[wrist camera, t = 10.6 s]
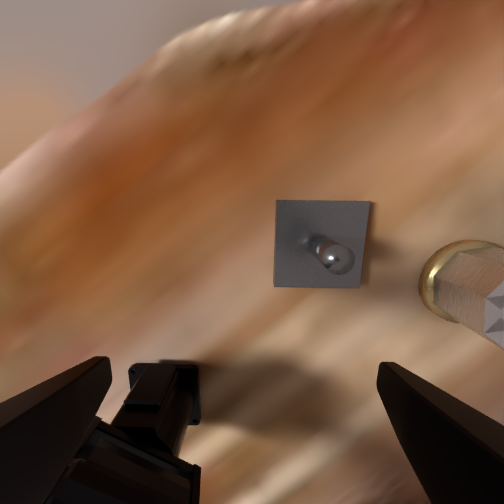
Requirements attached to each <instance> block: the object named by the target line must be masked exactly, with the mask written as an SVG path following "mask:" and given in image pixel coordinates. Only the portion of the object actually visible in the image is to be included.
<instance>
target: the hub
mask: <svg viewBox="0 0 504 504" xmlns="http://www.w3.org/2000/svg"><path fill="white" fill-rule="evenodd" d="M488 246H490V247H495V248H500V249H502V248H501V247H499V246H497V245H494V244H491V243H486V242H481V241H476V240H462V241H457V242H454V243H451V244H449V245H447V246H445V247H443V248H441V249H440V250H439V251H437V252H436V253H435V254H434V255H433V256H432V257H431V258H430V259H429V260H428V262H427V263H426V264H425V266H424V268H423V270H422V272H421V275H420V279H419V292H420V296H421V299H422V301H423V303H424V304H425V305H426V307H427V308H428V309H429V310H431V311H432V312H434V313H435V314H437V315H438V316H440V317H441V318H443V319H445V320H447V321H450V322H454V323H459V322H457V321H456V320H454V319H453V318H452V317H450V316H449V315H448V314H446V313H445V312H444V311H442V310H441V309H440V308H438V307H437V306H436V305H434V304H433V275H434V274H435V273H436V272H437V271H438V270H439V269H440V268H441V267H442V266H443V265H444V264H445V263H446V262H447V261H448V260H449V259H450V258H451V256H452V255H453V254H454V253H455V252H456V251H461V250H468V249H475V248H481V247H488Z"/></svg>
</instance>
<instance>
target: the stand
mask: <svg viewBox="0 0 504 504" xmlns="http://www.w3.org/2000/svg"><path fill="white" fill-rule="evenodd" d="M369 205H370V201H303V200H276V218H275V247H274V276H273V284H274V287H301V288H359V287H360V279H361V271H362V263H363V254H364V246H365V238H366V230H367V221H368V213H369Z"/></svg>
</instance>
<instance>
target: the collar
mask: <svg viewBox="0 0 504 504" xmlns="http://www.w3.org/2000/svg"><path fill="white" fill-rule="evenodd" d="M433 304H434V305H436V306H437V307H438V308H440V309H441V310H442V311H444V312H445V313H446V314H448V315H449V316H450V317H452V318H453V319H454V320H456V321H457V322H459V323H461V324H462V325H464V326H466V327H467V328H469V329H471V330H472V331H474V332H475V333H477V334H479V335H480V336H482V337H484V338H485V339H487V340H489V341H490V342H492V343H494V344H495V345H497V346H499V347H500V348H502V349H504V249H500V248H495V247H490V246H488V247H481V248H475V249H468V250H461V251H456V252H455V253H454V254H453V255H452V256H451V258H450V259H449V260H448V261H447V262H446V263H445V264H444V265H443V266H442V267H441V268H440V269H439V270H438V271H437V272H436V273H435V274H434V275H433Z"/></svg>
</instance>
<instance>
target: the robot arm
mask: <svg viewBox="0 0 504 504" xmlns="http://www.w3.org/2000/svg"><path fill="white" fill-rule="evenodd" d="M133 369H134V370H136V371H134V370H133ZM192 371H195V372H192ZM128 374H129V382H130V390H131V391H130V392H129V394H128V395H127V397H126V399H125V400H124V403H123V405H122V407H121V408H120V410H119V411H118V413H117V414H116V416H115V417H114V419H113V421H112V422H111V424H108V423H106V422H104V421H102V418H100V417H98V416H95V415H96V413H97V411H98V409H99V407H100V405H101V403H102V401H103V399H104V397H105V396H106V394H107V392H108V390H109V388H110V386H111V383H112V371H111V364H110V359H109V358H108V357H106V356H95V357H93V358H91V359H89V360H87V361H85V362H83V363H81V364H79V365H76V366H74V367H72V368H70V369H68V370H66V371H64V372H62V373H60V374H58V375H56V376H54V377H52V378H50V379H48V380H46V381H44V382H42V383H40V384H38V385H36V386H34V387H32V388H30V389H28V390H26V391H24V392H22V393H20V394H18V395H16V396H14V397H12V398H10V399H8V400H6V401H4V402H2V403H0V504H199V498H200V478H201V467H200V466H198V465H196V464H194V465H192V464H190V463H188V462H186V461H184V460H182V459H180V458H178V457H179V453H180V450H181V447H182V443H183V440H184V437H185V433H186V430H187V426H188V425H198V424H199V423H200V420H201V406H200V383H199V368H198V367H197V366H194V365H152V364H133V365H132V366H131V367H130V368H129V370H128ZM376 384H377V390H378V393H379V395H380V398H381V400H382V402H383V405H384V407H385V409H386V412H387V414H388V417H389V419H390V421H391V424H392V426H393V429H394V431H395V433H396V436H397V438H398V440H399V442H400V444H401V446H402V448H403V450H404V452H405V454H406V456H407V458H408V460H409V462H410V464H411V466H412V468H413V470H414V472H415V473H416V475H417V477H418V479H419V481H420V483H421V485H422V487H423V489H424V491H425V493H426V494H427V496H428V498H429V500H430V502H431V504H504V426H503V425H502V424H500V423H498V422H496V421H495V420H493V419H491V418H490V417H488V416H486V415H484V414H483V413H481V412H479V411H478V410H476V409H474V408H472V407H471V406H469V405H467V404H465V403H464V402H462V401H460V400H459V399H457V398H455V397H453V396H452V395H450V394H448V393H447V392H445V391H443V390H441V389H440V388H438V387H436V386H434V385H433V384H431V383H429V382H428V381H426V380H424V379H422V378H421V377H419V376H417V375H416V374H414V373H412V372H410V371H409V370H407V369H405V368H403V367H402V366H400V365H398V364H397V363H395V362H381V363H380V364H379V369H378V376H377V383H376ZM195 419H196V420H195Z"/></svg>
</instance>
